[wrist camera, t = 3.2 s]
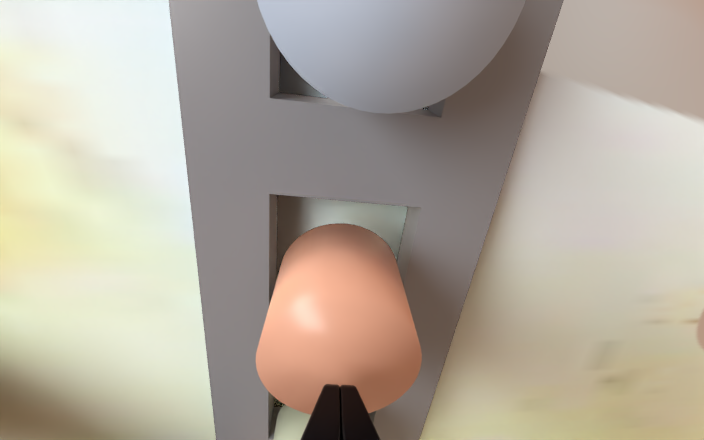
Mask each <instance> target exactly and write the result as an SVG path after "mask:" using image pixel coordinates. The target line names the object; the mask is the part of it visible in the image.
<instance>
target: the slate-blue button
mask: <svg viewBox="0 0 704 440" xmlns="http://www.w3.org/2000/svg"><path fill="white" fill-rule="evenodd" d="M525 1H526V0H257V2H258V6H259V9H260V12H261V14H262V17H263V19H264V22H265V24H266V26H267V29H268V31H269V33H270V35H271V36H272V38H273V40H274V42H275V44H276V46H277V47H278V49H279V50H280V52H281V53H282V54H283V56H284V57H285V59H286V60H287V62H288V63H289V64H290V65H291V66H292V67H293V69H294V70H295V71H296V72H297V73H298V74H299V75H300V76H301V77H302V78H303V79H304V80H305V81H306V82H307V83H309V84H310V85H311V86H312V87H313V88H314V89H316V90H317V91H319V92H320V93H322V94H323V95H325V96H326V97H328V98H330V99H332V100H334V101H336V102H338V103H340V104H342V105H344V106H347V107H351V108H354V109H357V110H360V111H366V112H371V113H385V114H392V113H403V112H409V111H413V110H417V109H422V108H424V107H427V106H430V105H432V104H435V103H437V102H439V101H441V100H443V99H445V98H447V97H449V96H451V95H452V94H454V93H455V92H457V91H458V90H460V89H461V88H463V87H464V86H466V85H467V84H468V83H469V82H470V81H471V80H473V79H474V78H475V77H476V76H477V75H478V74H479V73H480V72H481V71H482V70H483V69H484V68H485V67H486V66H487V65H488V64H489V63H490V62H491V60H492V59H493V58H494V57H495V55H496V54H497V53H498V51H499V50H500V49H501V47H502V46H503V44H504V43H505V41H506V40H507V38H508V36H509V35H510V33H511V31H512V29H513V28H514V26H515V24H516V22H517V20H518V17H519V15H520V13H521V11H522V9H523V7H524V4H525Z"/></svg>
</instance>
